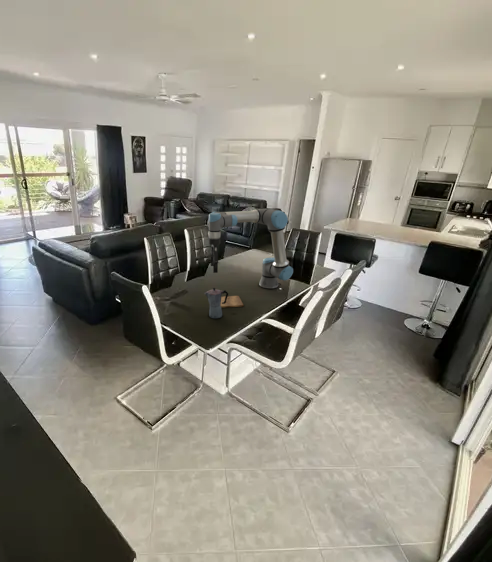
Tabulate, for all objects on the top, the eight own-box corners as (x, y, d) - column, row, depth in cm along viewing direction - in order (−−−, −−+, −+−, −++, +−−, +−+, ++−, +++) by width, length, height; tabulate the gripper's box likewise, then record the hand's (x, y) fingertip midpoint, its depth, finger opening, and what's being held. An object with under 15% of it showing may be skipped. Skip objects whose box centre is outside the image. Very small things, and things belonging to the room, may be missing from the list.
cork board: (238, 297, 241) (238, 295, 240) (243, 306, 226) (243, 304, 225) (214, 298, 239) (214, 296, 238) (218, 307, 224) (218, 306, 224)
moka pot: (204, 312, 218) (203, 285, 210) (226, 311, 219) (227, 284, 211) (205, 319, 209) (205, 291, 201) (228, 318, 210) (229, 290, 202)
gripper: (206, 233, 216) (206, 263, 224) (210, 242, 193) (210, 275, 201) (217, 233, 216) (217, 263, 224) (223, 242, 193) (222, 275, 201)
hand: (214, 269), depth 212 cm, fingers open, 13 cm apart
